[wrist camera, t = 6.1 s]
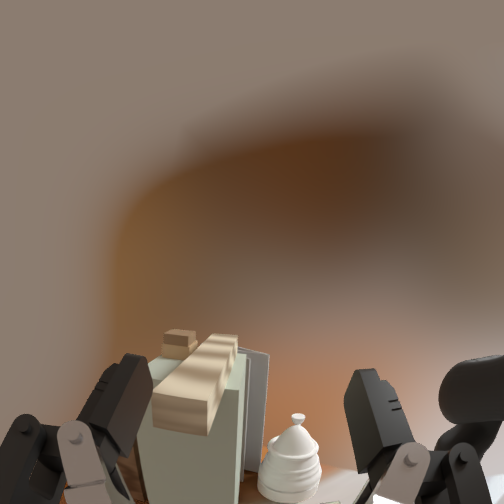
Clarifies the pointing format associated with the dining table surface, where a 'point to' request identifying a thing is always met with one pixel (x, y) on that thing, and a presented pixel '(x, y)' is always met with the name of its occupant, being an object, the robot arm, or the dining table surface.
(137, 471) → the walnut block
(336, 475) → the dining table surface
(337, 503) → the skincare box
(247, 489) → the dining table surface
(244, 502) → the dining table surface
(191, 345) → the rack
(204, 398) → the birch strip
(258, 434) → the folded grey card
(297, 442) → the honey pot
